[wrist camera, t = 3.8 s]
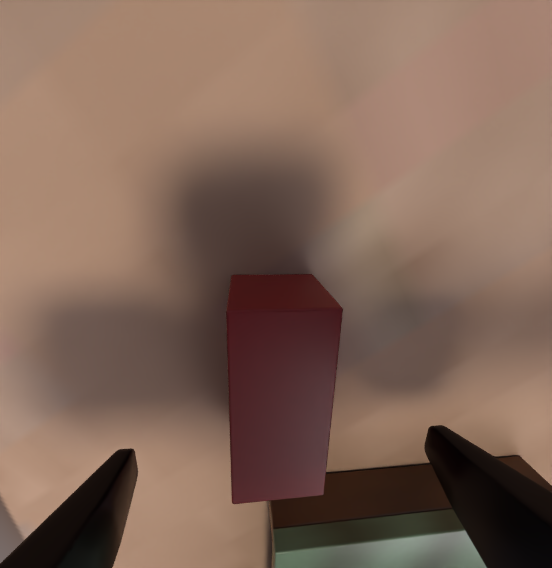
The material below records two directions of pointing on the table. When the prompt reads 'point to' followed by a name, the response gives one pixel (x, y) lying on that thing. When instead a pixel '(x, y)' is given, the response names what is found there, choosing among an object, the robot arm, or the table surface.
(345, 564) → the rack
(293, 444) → the red rectangular block
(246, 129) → the table surface
